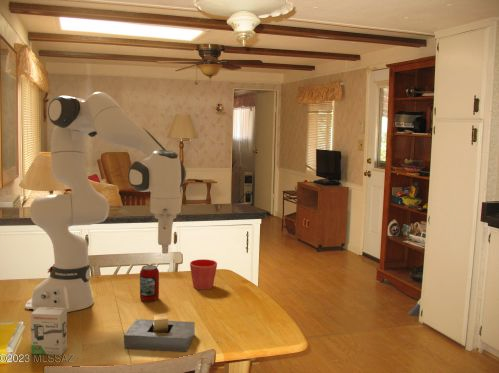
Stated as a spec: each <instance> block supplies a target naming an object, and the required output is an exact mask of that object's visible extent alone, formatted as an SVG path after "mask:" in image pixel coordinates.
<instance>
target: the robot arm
mask: <svg viewBox="0 0 499 373" xmlns="http://www.w3.org/2000/svg"><path fill="white" fill-rule="evenodd" d="M47 109H48V110H47V112H48V113H47V114H48V118H49V121H50V123H51V124H53V125H54V126H55V127H54V128H53V130H52V135H51V143H50V158H51V160H50V162H51V163H50V164H51V165H50V166H51V175H52V178H53V180H55V181H56V182H58V183H60V184H62V185H64V186H66V187H68V188H69V189H70V190H71V193H62V194H46V195H42V196H38V197H35V198H34V199H33V201H32V202H31V203H30V206H29V210H28V211H29V217H30V220H31V221H32V223H33V224H34V225H35V226H37V227H38V228H41V230H43V231H44V232H45V233H46V235H47V236H48V238H50V240H51V243H52V248H53V259H54V263H53V264H52V266H50V267H49V268H48V269H47V274H48V273H49V276H48V277H46V278H45V279H44V280H42V281H41V282H39V284H37V285H36V286H35V287H34V288H33V291H32V294H31V295H32V297H31V298H30V299H28V300H27V302H26V303H25V304H24V305H25V306H24V308H26V310H29V309H33V310H32V311H34V310H35V309H36V308H38V307H53V308H66V309H67V313H70V312H76V311H79V310H83V309H84V310H85V309H86V308H89V307H91V306H92V305H93V304H94V303H95V301H94V298H93V295H92V290H91V284H90V283H91V282H90V279H91V269H90V268H91V266H90V263H89V244H88V241H86V240H87V239H85V238H83V237H81V236H79V235H77V234H75V233H73V232H71V231H70V229H69V228H70V227H74V226H75V227H77V226H91V225H96V224H99V223H103V222H105V221H106V219H107V218H108V216H109V213H110V204H109V201H108V199H107V198H106V197H105V196H104V195H103V194H102V193H101V192H98V191H97V189H95V187H94V186H93V185H92V184H91V182H90V180H89V177H88V174H87V167H86V166H87V165H86V157H85V156H86V155H85V139H86V137H87V136H89V137H91V138H94V137H96V136H97V135H98V137H99V138H100V139H101V140H103V141H104V142H105V143H107V144H109V145H112V146H117V147H123V148H128V149H133V150H136V151H139V152H140V153H142V154H143V155H145V156H146V158H142V159H139V160H137V161H134V162H132V163H131V165H130V166H129V170H128V173H127V174H128V175H127V177H128V183H129V185H130V186H131V188H132V189H134V190H135V191H136V192H141V193H142V192H143V193H145V192H150V202H149V203H150V205H149V206H150V210H149V211H150V213H151V214H154V218H155V219H156V220H157V244H158V246H161V253H162V254H163V255H165V254H169V246H170V245H171V244H172V237H173V236H172V234H173V225H174V219H176V218H177V215H178V214H180V213H181V211H182V210H181V209H182V206H181V205H182V193H181V190H180V189H181V187H182V186H183V184H184V183H185V181H186V179H187V178H186V177H187V171H186V168H185V166H184V164H183V162H182V161H181V158H180V156H179V155H178V153H176V152H174V151H172V150H166V148H165V147H164V146H163V145H162V144H161V143H160V141H158V140H157V138H155V137H154V136H153V135H152V134H151V133H150V132H149V131H148V130H147V129H145V128H144V127H143V126H141V125H139V124H138V123H137V122H135V121H134V120H133V119H132V118H131V117H130V116H129V115H128V114H127V113H126V112H125V111H124V109H123V108H122V106H120V104H119V103H118V102H117V101H116V100H115V99H114V98H113V97H112V96H110V95H109V94H108V93H106V92H103V91H96V92H93V93H92V94H90V95H89V96H88V97H87V98H81V97H80V98H79V97H73V96H70V95H59V96H55V97H54V98H52V100H51V101H50V102H49V105H48V108H47Z"/></svg>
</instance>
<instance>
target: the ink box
mask: <svg viewBox="0 0 499 373" xmlns="http://www.w3.org/2000/svg"><path fill="white" fill-rule="evenodd" d="M67 314H68V312H67V309H66V308H53V307H38V308H36V309H35V310H32V312H31V313H30V354H31V355H49V356H50V355H52V356H53V355H54V356H57V355H58V356H62V354H63V353H64V352H65V351H66V350H67V349H68V320H67V319H68V315H67Z"/></svg>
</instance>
